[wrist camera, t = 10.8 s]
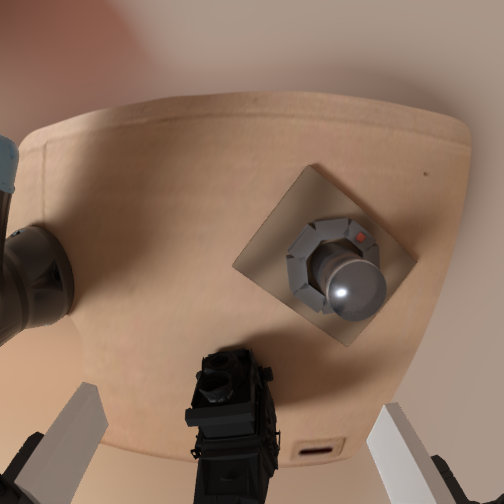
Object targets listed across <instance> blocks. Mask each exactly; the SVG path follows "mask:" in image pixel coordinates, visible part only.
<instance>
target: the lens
mask: <svg viewBox="0 0 504 504" xmlns="http://www.w3.org/2000/svg"><path fill="white" fill-rule="evenodd" d="M310 269H311V272H312V275H313V276H314V278H315V280H316V281H317V283H318V285H319V286H320V288H321V290H322V291H323V293H324V295H325V296H326V299H327V301H328V303H329V305H330V307H331V308H332V310H333V311H334V312H335V313H336V314H337V315H338V316H339V317H341V318H342V319H344V320H347V321H354V322H355V321H362V320H365V319H367V318H369V317H371V316H372V315H374V314H375V313H376V312H377V311H378V310H379V309H380V307H381V306H382V304H383V302H384V300H385V297H386V292H387V285H386V280H385V278H384V276H383V274H382V273H381V271H380V270H379V269H378V268H377V267H376V266H375V265H374V264H372V263H371V262H369V261H367V260H365V259H363V258H361V257H360V256H358V255H357V254H355V253H354V252H353V251H351V250H350V249H348V248H347V247H345V246H344V245H342V244H340V243H336V242H329V243H325V244H323V245H321V246H320V247H318V248H317V249H316V250H315V252H314V253H313V255H312V257H311V261H310Z"/></svg>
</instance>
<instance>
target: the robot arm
mask: <svg viewBox="0 0 504 504" xmlns="http://www.w3.org/2000/svg"><path fill="white" fill-rule="evenodd" d="M18 162H19V150H18V148H17V146H16V144H15V143H14V142H13V141H12V140H10V139H9V138H7V137H5V136H2V135H0V346H2V345H3V344H4V343H6V342H7V341H8V340H10V339H11V338H13V337H14V336H15V335H17V334H18V333H19V332H21V331H23V330H24V329H28V328H35V327H40V326H48V325H51V324H54V323H55V322H57V321H58V320H60V319H61V318H63V317H64V316H65V315H66V314H67V312H68V311H69V309H70V307H71V304H72V301H73V294H74V283H73V275H72V271H71V267H70V264H69V261H68V258H67V256H66V254H65V252H64V250H63V248H62V246H61V245H60V243H59V242H58V240H57V239H56V238H55V237H54V236H53V235H52V234H51V233H50V232H48V231H47V230H45V229H44V228H41V227H38V226H30V227H25V228H21V229H19V230H17V231H15V232H14V233H13V234H11V235H10V236H9V237H8V238H6V229H7V222H8V215H9V209H10V203H11V198H12V194H13V193H14V191H15V187H14V182H15V177H16V172H17V167H18ZM5 238H6V239H5ZM107 427H108V422H107V419H106V416H105V412H104V409H103V406H102V403H101V399H100V396H99V392H98V389H97V386H96V385H92V384H89V383H85V382H83V383H82V384H81V385H80V387H79V388H78V389H77V391H76V392H75V393H74V395H73V396H72V397H71V399H70V400H69V401H68V403H67V404H66V406H65V407H64V408H63V410H62V411H61V413H60V414H59V415H58V417H57V418H56V420H55V421H54V422H53V424H52V425H51V427H50V428H49V430H48V431H47V433H46V434H45V435H44V434H42V433H39V432H36V433H34V434H33V435H31V436H29V437H28V439H27V440H26V441H25V443H24V444H23V447H21V449H20V450H19V453H17V454H16V456H15V457H14V458H13V460H12V461H11V463H10V465H9V466H8V468H7V469H6V470H5V472H4V473H3V474H2V475H1V474H0V504H70V503H71V501H72V498H73V496H74V494H75V492H76V490H77V487H78V486H79V483H80V481H81V479H82V477H83V475H84V473H85V471H86V469H87V467H88V465H89V463H90V461H91V458H92V457H93V455H94V453H95V451H96V449H97V447H98V444H99V443H100V441H101V439H102V437H103V435H104V433H105V431H106V429H107ZM366 442H367V444H368V446H369V449H370V451H371V454H372V456H373V458H374V461H375V464H376V466H377V468H378V471H379V473H380V476H381V478H382V481H383V483H384V486H385V488H386V491H387V493H388V496H389V498H390V501H391V503H392V504H480V503H479V502H476V501H469V500H468V499H467V497H466V496H465V494H464V492H463V490H462V489H461V487H460V485H459V484H458V482H457V480H456V478H455V477H453V473H452V472H451V470H450V468H449V467H448V465H447V463H446V462H445V460H443V459H442V458H441V457H440V456H438V455H435V456H432V457H430V456H429V454H428V452H427V451H426V449H425V447H424V445H423V444H422V442H421V440H420V439H419V437H418V436H417V434H416V432H415V430H414V429H413V427H412V425H411V424H410V422H409V421H408V419H407V417H406V416H405V414H404V412H403V411H402V409H401V407H400V406H399V404H398V403H397V402H396V403H389V404H384V405H383V407H382V410H381V412H380V414H379V416H378V418H377V420H376V422H375V424H374V426H373V429H372V431H371V432H370V434H369V436H368V438H367V440H366ZM483 504H504V494H502V495H501V496H500V497H499V498H497V499H496V500H495V501H491V502H487V503H483Z"/></svg>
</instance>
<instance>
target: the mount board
mask: <svg viewBox="0 0 504 504" xmlns="http://www.w3.org/2000/svg"><path fill="white" fill-rule="evenodd" d="M329 242H336V243H340V244H342V245H344V246H345V247H347V248H348V249H350V250H351V251H353V252H354V253H355V254H357V255H358V256H360V257H361V258H363V259H365V260H367V261H369V262H371V263H372V264H374V265H375V266H376V267H377V268H378V269H379V270H380V271H381V273H382V274H383V276H384V278H385V280H386V285H387V292H386V297H385V300H384V302H383V304H382V306H381V307H380V309H381V308H382V307H383V306H384V304H385V303H386V302H387V301H388V300H389V298H390V297H391V296H392V295H393V293H394V292H395V291H396V289H397V288H398V287H399V286H400V284H401V283H402V282H403V280H404V279H405V278H406V276H407V275H408V274H409V272H410V271H411V270H412V268H413V267H414V265H415V264H416V263H417V261H416V260H415V259H414V258H413V257H412V256H411V255H410V254H409V253H408V252H407V251H406V250H405V249H404V248H403V247H402V246H401V245H400V244H399V243H398V242H397V241H396V240H394V239H393V238H392V237H391V236H390V235H389V234H388V233H387V232H386V231H385V230H384V229H383V228H382V227H381V226H380V225H379V224H377V223H376V222H375V221H374V220H373V219H372V218H371V217H370V216H369V215H368V214H366V213H365V212H364V211H363V210H362V209H361V208H360V207H359V206H357V205H356V204H355V203H354V202H353V201H352V200H350V199H349V198H348V197H347V196H346V195H345V194H343V193H342V192H341V191H340V190H339V189H337V188H336V187H335V186H334V185H333V184H331V183H330V182H329V181H328V180H327V179H325V178H324V177H323V176H322V175H320V174H319V173H318V172H317V171H315V170H314V169H313V168H312V167H310V166H309V165H308V166H306V168H305V169H304V170H303V172H302V173H301V174H300V176H299V177H298V178H297V180H296V181H295V182H294V184H293V185H292V186H291V187H290V189H289V190H288V191H287V193H286V194H285V195H284V197H283V198H282V199H281V201H280V202H279V203H278V205H277V206H276V207H275V209H274V210H273V211H272V212H271V214H270V215H269V216H268V218H267V219H266V220H265V222H264V223H263V224H262V226H261V227H260V228H259V230H258V231H257V232H256V234H255V235H254V236H253V238H252V239H251V240H250V242H249V243H248V244H247V246H246V247H245V248H244V250H243V251H242V252H241V254H240V255H239V256H238V258H237V259H236V260H235V262H234V263H233V265H232V267H233V268H235V269H236V270H237V271H239V272H240V273H242V274H243V275H244V276H246V277H247V278H249V279H250V280H251V281H253V282H254V283H256V284H257V285H258V286H260V287H261V288H263V289H264V290H265V291H267V292H268V293H270V294H271V295H273V296H274V297H275V298H277V299H278V300H280V301H281V302H282V303H284V304H285V305H287V306H288V307H290V308H291V309H292V310H294V311H295V312H297V313H298V314H300V315H301V316H303V317H304V318H305V319H307V320H308V321H310V322H311V323H313V324H314V325H316V326H317V327H318V328H320V329H321V330H323V331H324V332H326V333H327V334H329V335H330V336H332V337H333V338H334V339H336V340H337V341H339V342H340V343H342V344H343V345H345V346H346V347H348V346H349V345H350V344H351V343H352V342H353V340H354V339H355V338H356V337H357V336H358V335H359V334H360V333H361V332H362V330H363V329H364V328H365V327H366V326H367V325H368V324H369V322H370V321H371V320H372V319H373V318H374V317H375V315H376V314H377V313H378V312H379V311H380V309H379V310H378V311H377V312H376V313H375V314H374V315H372V316H371V317H369V318H367V319H365V320H362V321H355V322H354V321H347V320H344V319H342V318H341V317H339V316H338V315H337V314H336V313H335V312H334V311H333V310H332V308H331V307H330V305H329V303H328V301H327V299H326V296H325V295H324V293H323V291H322V290H321V288H320V286H319V285H318V283H317V281H316V280H315V278H314V276H313V275H312V272H311V269H310V261H311V257H312V255H313V253H314V252H315V250H316V249H317V248H318V247H320V246H321V245H323V244H325V243H329Z"/></svg>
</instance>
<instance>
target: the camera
mask: <svg viewBox="0 0 504 504" xmlns="http://www.w3.org/2000/svg"><path fill="white" fill-rule="evenodd" d="M208 356H209V357H205V359H204V357H203V360H202V371H199V372H197V374H196V378H197V380H198V381H197V384H196V388H195V391H194V395H193V399H192V402H191V406H192V409H191V408H188V409H186V411H185V421H186V423H187V425H188V427H192V426H199V427H198V429H199V431H198V432H199V433H198V436H197V435H196V438H197V441H196V444H195V449H193V450H191V454H192V455H193V452H195V454H196V455H193V457H194V458H195V459H197V458H199V461H198V469H197V477H196V485H195V494H194V503H193V504H264V503H265V499H266V495H267V490H268V484H269V479H270V478H271V477H273V474H274V471H275V469H277V470H278V458H277V457H278V454H279V450H280V448H279V449H278V447H280V433H281V432H280V430H279V432H276V421H277V420H276V414H275V408H274V402H273V399H272V398H271V395H270V392H269V388H268V385H267V382H268V381H273V374H272V370H271V368H270V367H268V368H264V370H263V368H262V366H259V367H258V363H257V362H256V361H255V358H254V355H253V352H252V349H251V351H249V350H245V348H242V349H237V350H232V351H226V352H218V353H215V354H209V355H208ZM276 435H279V443H278V444H279V446H278V444H277V438H276ZM200 453H201V455H200ZM197 454H198V455H197Z"/></svg>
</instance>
